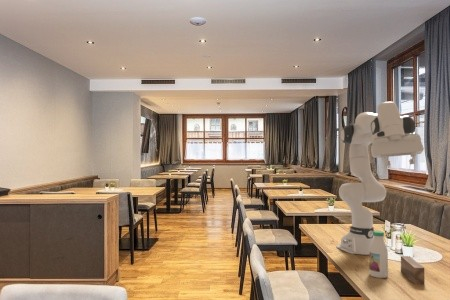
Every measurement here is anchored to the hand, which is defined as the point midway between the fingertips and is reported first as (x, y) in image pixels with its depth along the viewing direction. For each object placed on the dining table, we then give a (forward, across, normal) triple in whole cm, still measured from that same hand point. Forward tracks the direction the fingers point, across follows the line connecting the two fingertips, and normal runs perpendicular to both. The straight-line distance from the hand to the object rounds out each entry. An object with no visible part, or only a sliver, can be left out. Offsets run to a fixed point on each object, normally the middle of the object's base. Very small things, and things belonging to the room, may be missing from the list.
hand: (400, 164), depth 153 cm
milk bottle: (+41, +10, -32) cm, 53 cm away
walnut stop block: (+42, -4, -33) cm, 54 cm away
